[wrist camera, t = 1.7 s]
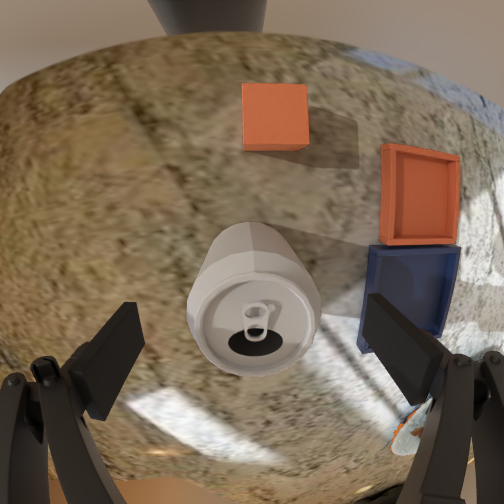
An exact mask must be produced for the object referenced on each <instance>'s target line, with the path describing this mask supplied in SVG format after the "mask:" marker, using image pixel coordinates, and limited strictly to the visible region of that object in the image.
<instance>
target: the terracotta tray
mask: <svg viewBox="0 0 504 504" xmlns="http://www.w3.org/2000/svg"><path fill="white" fill-rule="evenodd" d="M459 201H460V156H457V155H452V154H448V153H443V152H439V151H434V150H429V149H423V148H418V147H412V146H406V145H400V144H393V143H389V144H383V145H381V212H380V230H379V241H380V242H382V243H384V244H386V245H422V244H456V237H457V228H458V217H459Z"/></svg>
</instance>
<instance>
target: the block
mask: <svg viewBox="0 0 504 504" xmlns="http://www.w3.org/2000/svg"><path fill="white" fill-rule="evenodd" d="M242 122H243V151H257V150H289V151H297V150H299V149H301V148H303V147H305V146H307V145H309V144H310V141H309V116H308V98H307V85H300V84H278V83H243V84H242Z"/></svg>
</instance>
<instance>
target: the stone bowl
mask: <svg viewBox="0 0 504 504" xmlns="http://www.w3.org/2000/svg"><path fill="white" fill-rule="evenodd" d="M403 487H404V486H398V487H397V488H393V489H390V490H389V491H387V492H385V493H383V494H382V496H381V497H379V498H377V499H375V500H374V501H371V500H369V499H363V500H360V501H358V502H355V503H354V504H396V502H397V500H398V498H399V496H400V493H401V491H402V489H403Z"/></svg>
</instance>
